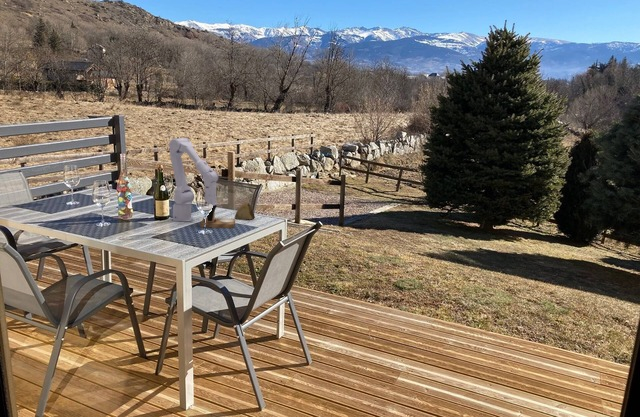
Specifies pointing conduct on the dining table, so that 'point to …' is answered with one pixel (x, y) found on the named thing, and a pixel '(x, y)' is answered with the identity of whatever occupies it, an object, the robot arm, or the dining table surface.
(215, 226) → the walnut board
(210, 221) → the terracotta block
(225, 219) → the cream disc
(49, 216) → the dining table surface
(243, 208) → the rock
